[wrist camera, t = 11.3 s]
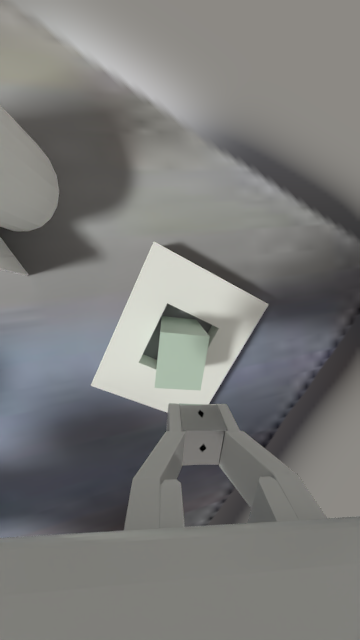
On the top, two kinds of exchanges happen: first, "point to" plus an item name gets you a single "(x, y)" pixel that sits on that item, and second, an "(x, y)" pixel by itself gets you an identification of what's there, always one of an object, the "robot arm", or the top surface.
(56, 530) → the top surface
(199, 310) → the socket plate
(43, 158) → the toilet paper
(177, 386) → the plug
